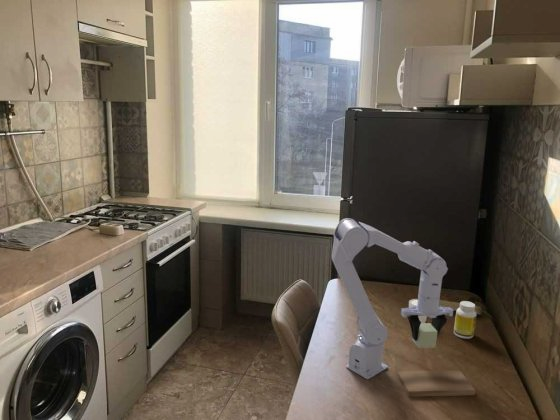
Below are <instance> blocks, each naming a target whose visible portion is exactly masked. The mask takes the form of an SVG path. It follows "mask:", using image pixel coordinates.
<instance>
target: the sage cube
mask: <svg viewBox="0 0 560 420" xmlns="http://www.w3.org/2000/svg"><path fill="white" fill-rule="evenodd" d="M437 332H438V331H437V330H436V329H435V328H434V327H433V326H432V323H430V322H426V323H421V324H420V327H419V332H418V339H417V341H415V340H414V339H413V338H412V337H411V340H412V342H414V344H415V345H416V346H417V348H418V349H424V348H425V349H429V348H430V349H431V348H433V349H434V348H436V346H437V338H438V336H437Z"/></svg>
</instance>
